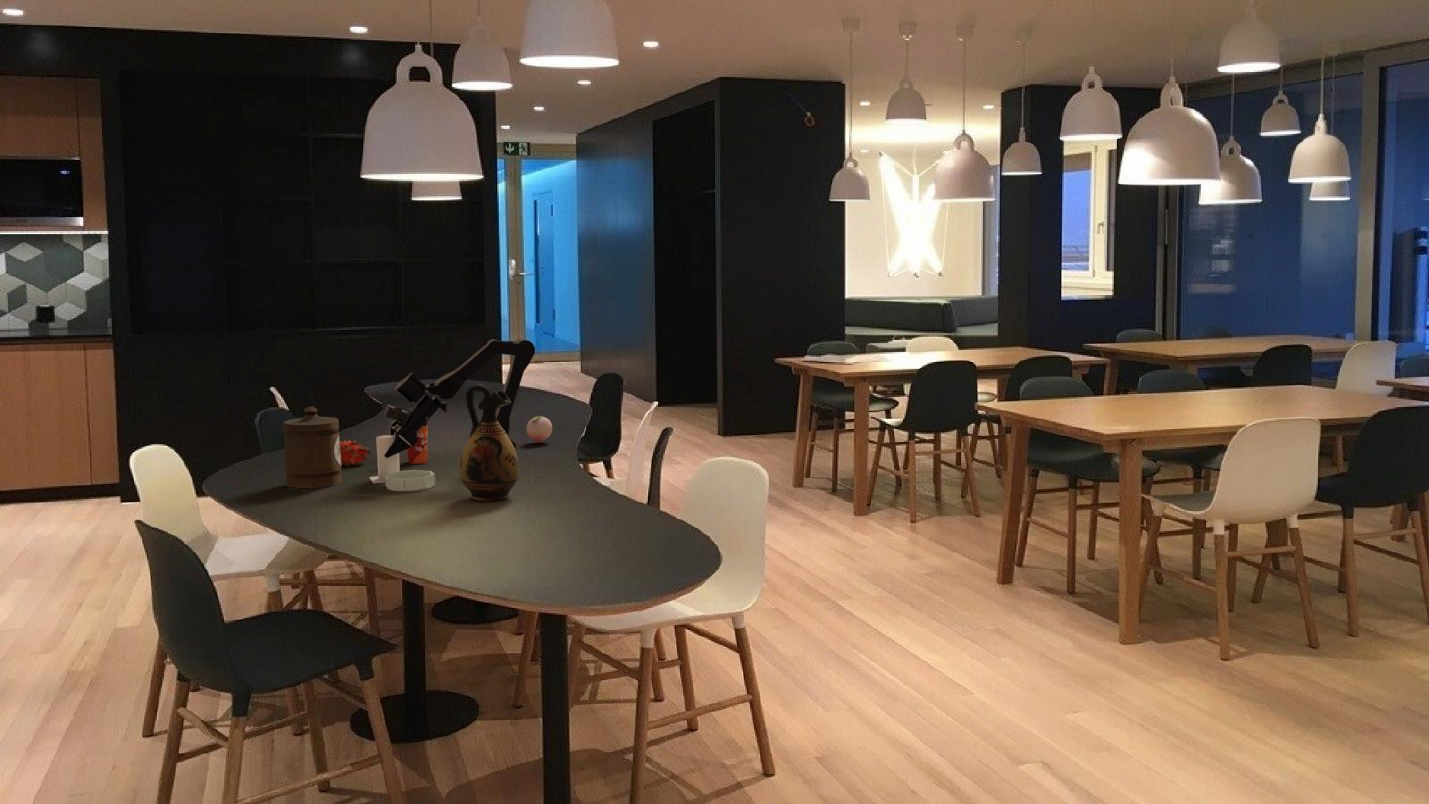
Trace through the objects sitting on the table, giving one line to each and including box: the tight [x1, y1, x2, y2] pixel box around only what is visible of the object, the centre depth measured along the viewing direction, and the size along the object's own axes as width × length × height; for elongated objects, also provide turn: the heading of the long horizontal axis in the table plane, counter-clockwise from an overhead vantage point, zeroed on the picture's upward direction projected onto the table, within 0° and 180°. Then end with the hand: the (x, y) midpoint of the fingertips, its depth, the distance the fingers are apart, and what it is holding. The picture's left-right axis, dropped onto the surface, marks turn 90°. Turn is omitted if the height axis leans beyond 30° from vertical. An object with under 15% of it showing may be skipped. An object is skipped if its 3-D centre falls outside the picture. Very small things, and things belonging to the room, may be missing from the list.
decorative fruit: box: [526, 413, 553, 444], centre depth 413 cm, size 9×8×10 cm
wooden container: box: [283, 406, 343, 489], centre depth 349 cm, size 15×15×22 cm
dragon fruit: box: [339, 439, 372, 467], centre depth 379 cm, size 8×8×12 cm
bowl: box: [385, 469, 436, 492], centre depth 343 cm, size 13×13×4 cm
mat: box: [369, 475, 386, 484], centre depth 355 cm, size 10×10×1 cm
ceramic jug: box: [459, 383, 520, 503], centre depth 327 cm, size 17×15×30 cm
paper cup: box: [406, 421, 429, 465], centre depth 381 cm, size 8×8×14 cm
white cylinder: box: [375, 434, 401, 481], centre depth 354 cm, size 6×6×12 cm
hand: (383, 454), depth 354 cm, fingers open, 9 cm apart
